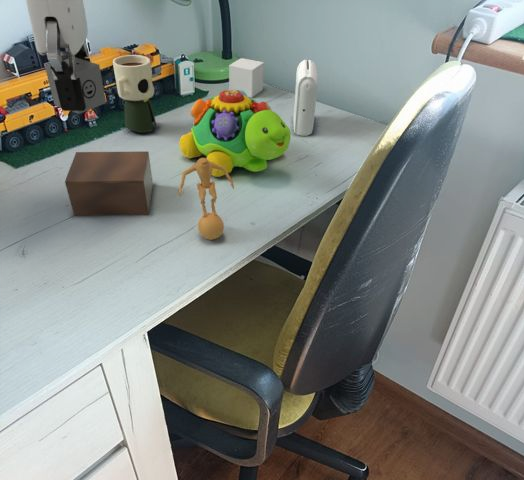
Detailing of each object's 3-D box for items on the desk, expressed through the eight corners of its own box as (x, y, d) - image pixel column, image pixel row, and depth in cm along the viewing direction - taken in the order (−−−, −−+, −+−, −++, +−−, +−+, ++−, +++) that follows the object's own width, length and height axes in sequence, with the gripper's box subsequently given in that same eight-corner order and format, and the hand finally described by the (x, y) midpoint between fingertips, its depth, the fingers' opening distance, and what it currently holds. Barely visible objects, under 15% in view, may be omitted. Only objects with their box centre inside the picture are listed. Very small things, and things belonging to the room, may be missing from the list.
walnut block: (74, 215, 83) (64, 181, 79) (84, 185, 90) (75, 151, 86) (148, 214, 84) (143, 180, 80) (153, 184, 91) (148, 151, 87)
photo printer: (313, 137, 106) (319, 72, 97) (292, 136, 106) (297, 71, 97) (312, 116, 113) (318, 54, 104) (293, 115, 113) (297, 53, 104)
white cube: (263, 89, 124) (264, 62, 120) (251, 97, 120) (252, 70, 116) (241, 84, 126) (241, 57, 121) (229, 92, 122) (228, 65, 117)
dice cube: (54, 104, 72) (44, 66, 69) (81, 94, 75) (73, 56, 72) (79, 114, 70) (70, 74, 67) (106, 102, 73) (99, 64, 70)
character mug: (144, 142, 102) (134, 72, 93) (112, 136, 104) (99, 66, 94) (168, 121, 110) (161, 54, 100) (138, 116, 111) (129, 49, 102)
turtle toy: (243, 201, 88) (243, 133, 79) (170, 151, 100) (163, 87, 92) (315, 172, 96) (322, 107, 87) (238, 129, 108) (238, 68, 99)
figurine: (188, 248, 78) (181, 174, 69) (180, 227, 82) (172, 154, 73) (240, 240, 80) (240, 167, 71) (230, 219, 84) (228, 148, 75)
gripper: (29, -74, 65) (64, 76, 78) (-12, -48, 53) (37, 124, 66) (89, -73, 66) (114, 77, 79) (62, -47, 54) (96, 124, 67)
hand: (79, 97), depth 72 cm, fingers closed on dice cube, 7 cm apart
